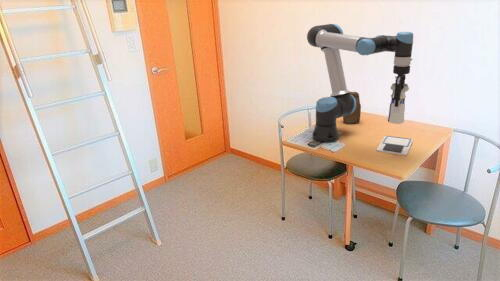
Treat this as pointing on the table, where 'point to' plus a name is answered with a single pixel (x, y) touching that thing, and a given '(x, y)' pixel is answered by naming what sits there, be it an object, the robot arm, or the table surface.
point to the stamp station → (395, 145)
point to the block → (355, 115)
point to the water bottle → (399, 117)
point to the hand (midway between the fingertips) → (397, 110)
